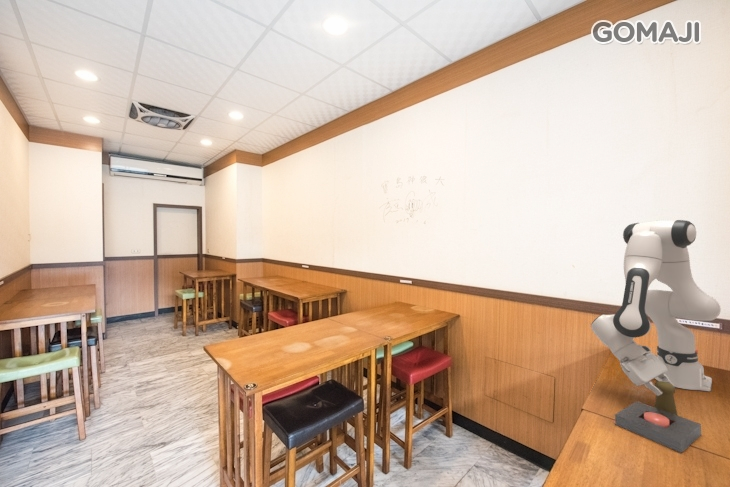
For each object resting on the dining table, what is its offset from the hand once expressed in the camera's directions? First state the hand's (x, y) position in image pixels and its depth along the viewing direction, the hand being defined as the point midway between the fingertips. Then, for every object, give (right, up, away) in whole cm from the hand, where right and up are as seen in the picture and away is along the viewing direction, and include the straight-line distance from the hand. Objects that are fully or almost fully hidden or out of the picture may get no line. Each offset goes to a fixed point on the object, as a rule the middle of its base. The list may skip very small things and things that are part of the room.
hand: (666, 390), depth 106 cm
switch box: (-11, -9, -8) cm, 16 cm away
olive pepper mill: (0, -8, 0) cm, 8 cm away
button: (-11, -9, -8) cm, 16 cm away
